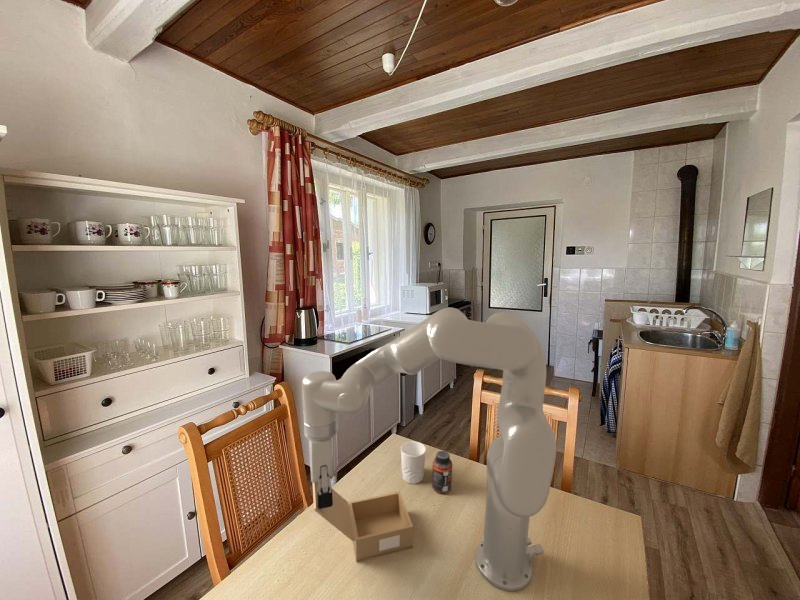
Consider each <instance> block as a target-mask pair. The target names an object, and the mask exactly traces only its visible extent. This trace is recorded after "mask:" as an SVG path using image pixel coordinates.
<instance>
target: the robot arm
mask: <svg viewBox="0 0 800 600" xmlns="http://www.w3.org/2000/svg"><path fill="white" fill-rule="evenodd" d="M439 359H442V360H445V361H448V362H451V363H456V364H460V365H461V364H462V365H465V366H472V367H479V368H486V369H494V370H501V371H502V372H503V373H502V383H501V384H502V385H501V389H500V396H499V403H498V407H497V413H496V423H497V426H498V430H499V432H500V435H499V436H497V437H495V438H494V440H492V442H491V443H490V445H489V446H488V450H487V454H486V499H485V514H484V528H483V540H482V541H481V542H480V543H479V544H478V546H477V547H476V551H475V563H476V566H477V569H478V571H479V573H480V574H481V575H482V577H483V578H484V579H485V580H486V581H487V582H488V583H490V584H491V585H492V586H495V587H496V588H499V589H500V590H503V591H513V592H515V591H520V590H522V589H525V587H527V586H528V585H529V584H530V582H531V578H532V575H533V566H532V561H531V560H532V559H533V557H535V556H536V557H537V556H540V555H543V554H544V549H543V548H544V547H543V546H542V545H541V544H540V543H539V544H534V545H532V544H533V543H532V539H531V538H530V537H529V528H530V527H529V526H530V517H533V516H535V515H537V514H538V513H539V512H540V511H541V510H542V509H543V508H544V507H545V505H546V503H547V501H548V497H549V494H550V490H551V485H552V480H553V475H554V468H555V464H556V458H557V453H558V450H557V439H556V435H555V432H554V429H553V428H552V426H551V424H550V423H549V421H548V420H547V418H546V415H545V414H544V400H545V399H544V398H545V391H546V383H547V382H546V381H547V363H546V357H545V353H544V350H543V347H542V345H541V342H540V340H539V339H538V337H537V336H536V334H535V333H534V331H533V330H532V328H531V327H530V326H529V325H527V324H526V322H525V321H523V320H522V319H520V318H519V317H518V316H517V315H514V314H512V313H509V312H504V311H503V312H502V311H501V312H500V311H499V312H496V313H494V314H492V315H491V316H489V317H488V319H487V320H486V322H485V321H484V322H483V321H478V320H472V319H468V317H467V316H466V314H465V313H463V312H462V311H461V310H460V309H458V308H455V307H444V308H442V309H440V310H437V311H436V312H434V313H432V314H431V315H430V316H428V317H427V318H425V319H424V320H421V322H419V323H417V324H416V325H415V326H414V327H412V328H411V329H409V330H407V331H406V332H404V333H403V334H402V335H400V336H398V337H397V338H395V339H393V340H391V341H390V342H387V343H386V344H384V345H382V346H380V347H378V348H376V349H375V350H372V351H371V352H370V353H368V354H366V356H364V357H363V358H360V359H359V360H358V361H356V362H355V363H353V364H352V365H351V366H349V368H347V369H346V371H345V372H344V373H343V375H342V376H341V377H340V378H339V379H336V376H335V375H334V374H333V373H332V372H329V371H325V370H324V371H323V370H321V371H320V370H319V371H313V372H310V373H308V374H307V375H305V376H304V377H303V378H302V380H301V396H302V397H301V398H302V413H303V432H304V434H303V435H304V437H305V438H306V439H307V440H308V444H309V445H308V449H309V466H310V481H311V483H312V482H313V483H315V482H317V481H318V491H319V492H317V495H318V508H319V509H322V508H327V507H331V506H333V499H332V489H333V488H332V479H333V478H334V437H335V436H336V434H337V433H338V432H339V425H338V424H339V423H338V421H339V420H338V414H342V415H346V416H348V415H349V416H353V415H356V414H359V413H360V412H361V411H362V410H364V408H365V407H366V404H367V402H368V399H369V397H370V395H371V392H372V390H373V388H375V387H376V386H378V385H379V384H381V383H382V382H383V381H386V380H387V379H389V378H390V377H392V376H395V375H397V374H406V375H408V376H409V375H410V376H413V375H417V374H418V373H419V372H421V371H422V370H424V369H425V368H427V367H429V366H430V365H432V364H433V363H435V362H436V361H438V360H439ZM321 481H322V487H321V484H320V482H321ZM331 488H332V489H331ZM531 545H532V546H531Z"/></svg>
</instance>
